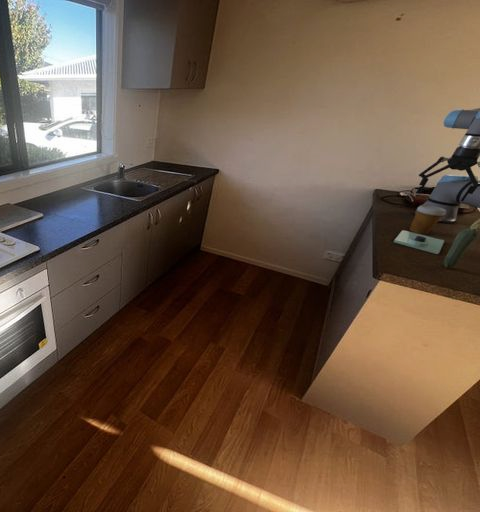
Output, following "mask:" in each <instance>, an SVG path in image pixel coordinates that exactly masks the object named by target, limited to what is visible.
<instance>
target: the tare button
mask: <svg viewBox="0 0 480 512" xmlns="http://www.w3.org/2000/svg"><path fill="white" fill-rule="evenodd" d="M415 240H416V241H419V242H425V240H426V238H425V237H422V236H417V237H416V238H415Z"/></svg>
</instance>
